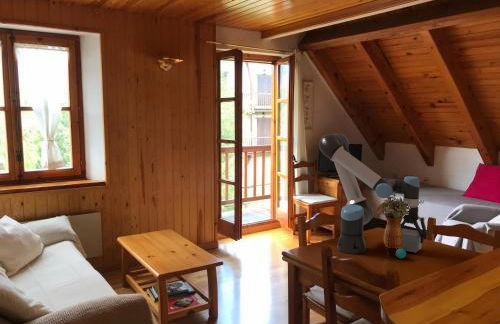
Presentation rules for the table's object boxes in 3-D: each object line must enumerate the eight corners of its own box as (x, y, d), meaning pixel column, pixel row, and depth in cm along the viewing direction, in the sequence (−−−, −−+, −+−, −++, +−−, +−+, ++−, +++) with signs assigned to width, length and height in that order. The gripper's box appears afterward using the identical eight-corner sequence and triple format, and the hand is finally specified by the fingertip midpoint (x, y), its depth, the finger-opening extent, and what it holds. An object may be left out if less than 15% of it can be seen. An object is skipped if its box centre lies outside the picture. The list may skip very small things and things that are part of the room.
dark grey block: (402, 243, 231) (402, 228, 230) (421, 247, 225) (422, 231, 224) (396, 248, 223) (396, 232, 222) (416, 252, 217) (416, 236, 216)
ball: (394, 258, 212) (394, 249, 212) (397, 255, 216) (397, 246, 216) (404, 260, 209) (404, 251, 209) (407, 257, 213) (407, 248, 213)
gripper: (386, 204, 225) (385, 244, 228) (431, 210, 211) (429, 252, 214) (391, 201, 231) (389, 241, 234) (435, 207, 217) (433, 248, 220)
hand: (409, 246), depth 224 cm, fingers closed on dark grey block, 10 cm apart
